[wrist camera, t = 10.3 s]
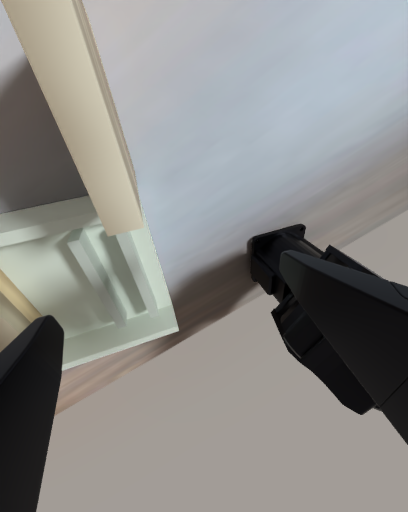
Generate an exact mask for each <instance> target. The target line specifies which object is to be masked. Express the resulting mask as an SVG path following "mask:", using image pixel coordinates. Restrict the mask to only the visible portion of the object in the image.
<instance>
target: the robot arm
mask: <svg viewBox="0 0 408 512" xmlns="http://www.w3.org/2000/svg"><path fill="white" fill-rule="evenodd" d="M305 229H306V227H305V225H303V224H298V225H295V226H291V227H287V228H284V229H280V230H277V231H273V232H269V233H266V234H262V235H259V236H256V237H254V238H253V240H252V255H251V274H252V280H253V281H254V282H257V281H258V283H259V284H260V285H261V287H262V288H263V289H264V290H265V292H266V293H267V294H268V295H273V296H274V297H275V298H276V299H277V301H278V302H279V303H280V304H279V305H278V306H277V307H276V308H275V309H273V311H272V312H271V314H272V316H273V318H274V321H275V323H276V325H277V328H278V330H279V332H280V335H281V337H282V339H283V341H284V343H285V345H286V347H287V350H288V352H289V353H290V354H292V355H293V356H294V357H295V358H296V359H297V360H298V361H299V362H300V363H302V365H304V366H305V367H307V368H308V369H309V370H311V371H312V372H313V373H314V374H315V375H316V376H317V377H318V378H319V379H320V380H321V381H322V382H323V383H324V384H325V385H326V386H327V387H328V388H329V389H330V391H331V392H332V393H333V394H334V395H335V396H336V397H337V398H338V400H339V401H340V402H341V403H342V404H343V405H344V406H346V407H347V408H349V409H351V410H353V411H354V412H356V413H358V414H360V415H363V414H365V413H366V412H367V411H369V410H370V409H372V408H374V409H377V410H379V411H382V412H383V413H384V414H385V416H386V417H387V419H388V420H389V421H390V422H391V424H392V425H393V426H394V428H395V429H396V430H397V432H398V433H399V434H400V435H401V437H402V438H403V439H404V441H405V442H406V443H407V445H408V287H407V286H404V285H401V284H397V283H395V282H389V281H388V280H385V279H383V278H382V277H381V276H379V275H378V274H376V273H374V272H373V271H371V270H370V269H368V268H367V267H365V266H363V265H362V264H360V263H359V262H357V261H355V260H354V259H352V258H351V257H349V256H347V255H346V254H344V253H342V252H341V251H339V250H338V249H336V248H334V247H333V246H331V245H329V246H328V247H327V248H326V251H325V252H323V251H321V250H320V249H318V248H317V247H316V246H314V245H313V244H311V243H310V242H308V241H307V240H306V239H304V234H305ZM257 240H258V241H257ZM256 241H257V242H256ZM63 348H64V330H63V328H62V327H61V325H60V324H59V323H58V322H57V320H56V319H55V318H54V317H53V316H52V315H45V316H42V317H38V318H36V319H35V320H34V321H33V322H32V323H31V324H30V325H29V326H28V327H27V328H25V329H24V330H23V331H22V332H21V333H20V334H19V335H18V336H17V337H16V338H15V339H14V340H13V341H12V342H11V343H10V344H9V345H7V346H6V347H5V348H4V349H3V350H2V351H1V352H0V512H36V509H37V504H38V499H39V493H40V488H41V483H42V477H43V472H44V466H45V462H46V456H47V451H48V446H49V440H50V435H51V430H52V424H53V419H54V414H55V408H56V403H57V398H58V392H59V387H60V381H61V374H62V362H63Z"/></svg>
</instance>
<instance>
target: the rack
mask: <svg viewBox="0 0 408 512" xmlns="http://www.w3.org/2000/svg"><path fill="white" fill-rule="evenodd" d="M139 200H140V198H139ZM140 206H141V212H142V218H143V224H144V228H141V229H137V230H133V231H129V232H125V233H121V234H116V235H112V236H107V234H106V231H105V229H104V227H103V225H102V222H101V220H100V218H99V216H98V214H97V211H96V209H95V207H94V205H93V203H92V200H91V198H90V196H89V195H88V196H84V197H79V198H74V199H69V200H64V201H60V202H55V203H50V204H45V205H40V206H36V207H31V208H26V209H21V210H17V211H12V212H7V213H2V214H0V269H1V270H2V271H3V272H4V274H5V275H6V276H7V277H8V278H9V279H10V280H11V281H12V282H13V284H14V285H15V286H16V287H17V288H18V289H19V290H20V291H21V292H22V294H23V295H24V296H25V297H26V298H27V299H28V300H29V301H30V302H31V304H32V305H33V306H34V307H35V308H36V309H37V310H38V311H39V312H40V314H41V315H42V316H45V315H52V316H53V317H54V318H55V319H56V320H57V322H58V323H59V324H60V325H61V327H62V328H63V330H64V348H63V362H62V371H63V370H66V369H69V368H72V367H75V366H77V365H80V364H83V363H86V362H89V361H92V360H95V359H98V358H101V357H104V356H107V355H110V354H113V353H116V352H118V351H121V350H124V349H127V348H130V347H133V346H136V345H139V344H142V343H145V342H148V341H151V340H154V339H157V338H160V337H162V336H165V335H168V334H171V333H174V332H177V331H179V329H178V325H177V321H176V317H175V313H174V309H173V305H172V301H171V298H170V295H169V291H168V288H167V285H166V282H165V278H164V275H163V272H162V269H161V266H160V262H159V259H158V256H157V253H156V249H155V246H154V243H153V240H152V236H151V233H150V230H149V227H148V224H147V220H146V217H145V214H144V211H143V207H142V204H141V201H140Z"/></svg>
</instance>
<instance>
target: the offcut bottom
mask: <svg viewBox="0 0 408 512" xmlns="http://www.w3.org/2000/svg"><path fill="white" fill-rule="evenodd" d="M0 291H1V292H2V294H3V295H4V296H5V297H6V298H7V299H8V300H9V301H10V302H11V303H12V304H13V305H14V306H15V307H16V308H17V309H18V310H19V311H20V312H21V313H22V314H23V315H24V316H25V317H26V318H27V319H28V320H29V321H30V322H31V323H32V322H33V321H34V320H35V319H36V318H38V317H42V315H41V314H40V312H39V311H38V310H37V309H36V308H35V307H34V306H33V305H32V304H31V302H30V301H29V300H28V299H27V298H26V297H25V296H24V295H23V294H22V292H21V291H20V290H19V289H18V288H17V287H16V286H15V285H14V284H13V282H12V281H11V280H10V279H9V278H8V277H7V276H6V275H5V274H4V272H3V271H2V270H1V269H0Z"/></svg>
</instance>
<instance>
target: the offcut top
mask: <svg viewBox="0 0 408 512" xmlns="http://www.w3.org/2000/svg"><path fill="white" fill-rule="evenodd" d="M30 324H31V322H30V321H29V320H28V319H27V318H26V317H25V316H24V315H23V314H22V313H21V312H20V311H19V310H18V309H17V308H16V307H15V306H14V305H13V304H12V303H11V302H10V301H9V300H8V299H7V298H6V297H5V296H4V295H3V294H2V292H1V291H0V352H1V351H2V350H3V349H4V348H5V347H6V346H7V345H9V344H10V343H11V342H12V341H13V340H14V339H15V338H16V337H17V336H18V335H19V334H20V333H21V332H22V331H23V330H24V329H25V328H27V327H28V326H29V325H30Z"/></svg>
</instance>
